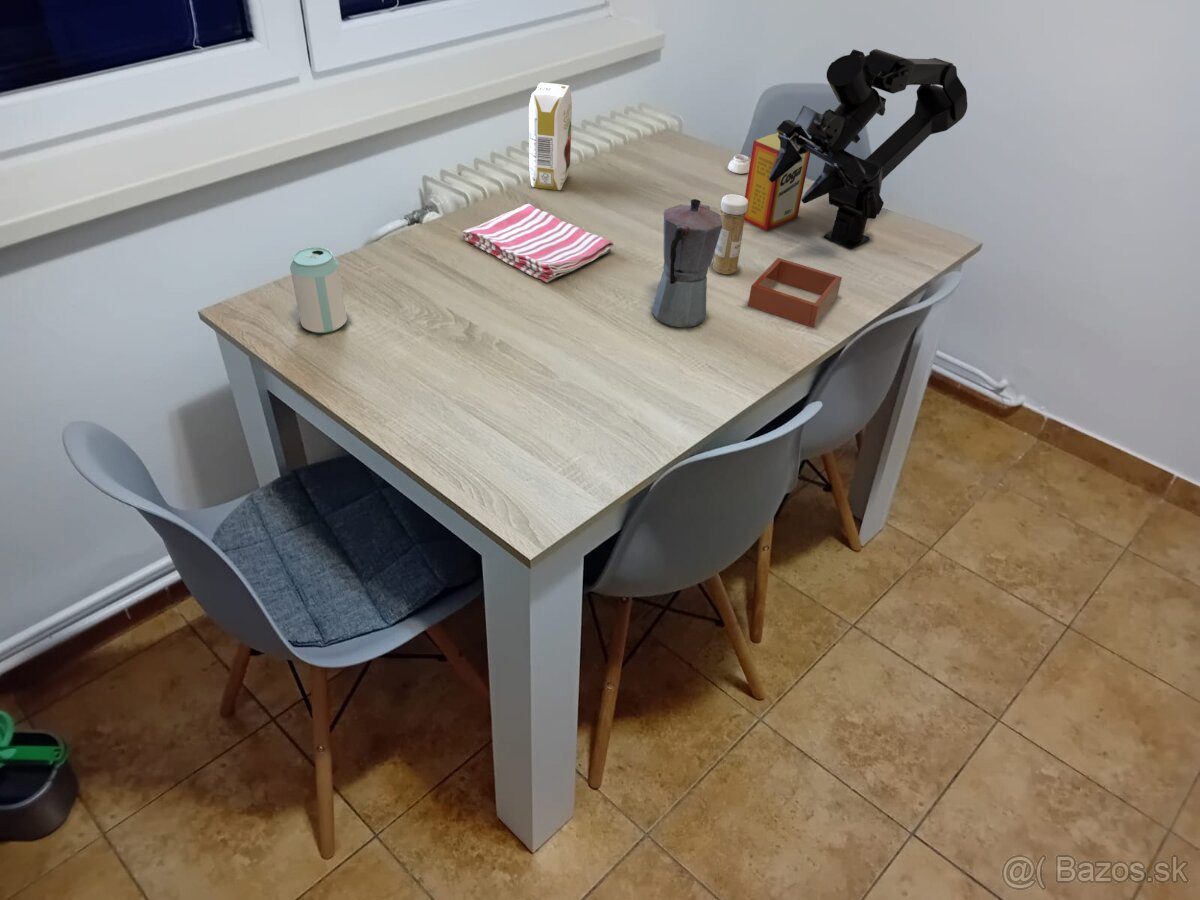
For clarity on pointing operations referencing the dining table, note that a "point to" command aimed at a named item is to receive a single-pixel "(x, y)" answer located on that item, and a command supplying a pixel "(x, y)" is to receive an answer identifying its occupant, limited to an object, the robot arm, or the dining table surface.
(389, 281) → the dining table surface
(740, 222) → the sprinkles bottle
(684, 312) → the moka pot
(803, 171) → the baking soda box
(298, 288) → the can
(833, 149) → the robot arm
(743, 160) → the white jar
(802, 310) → the holder
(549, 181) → the juice carton
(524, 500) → the dining table surface
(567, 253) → the dish towel
